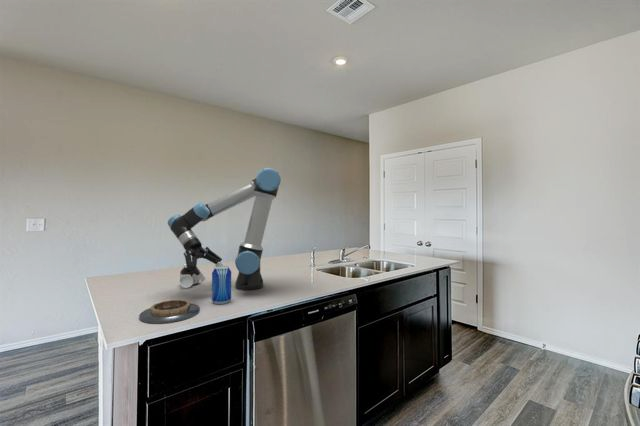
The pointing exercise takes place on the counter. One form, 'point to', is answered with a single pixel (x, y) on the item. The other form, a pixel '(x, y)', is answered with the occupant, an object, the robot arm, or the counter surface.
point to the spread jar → (188, 278)
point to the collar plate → (168, 319)
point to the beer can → (221, 285)
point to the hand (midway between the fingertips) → (214, 276)
